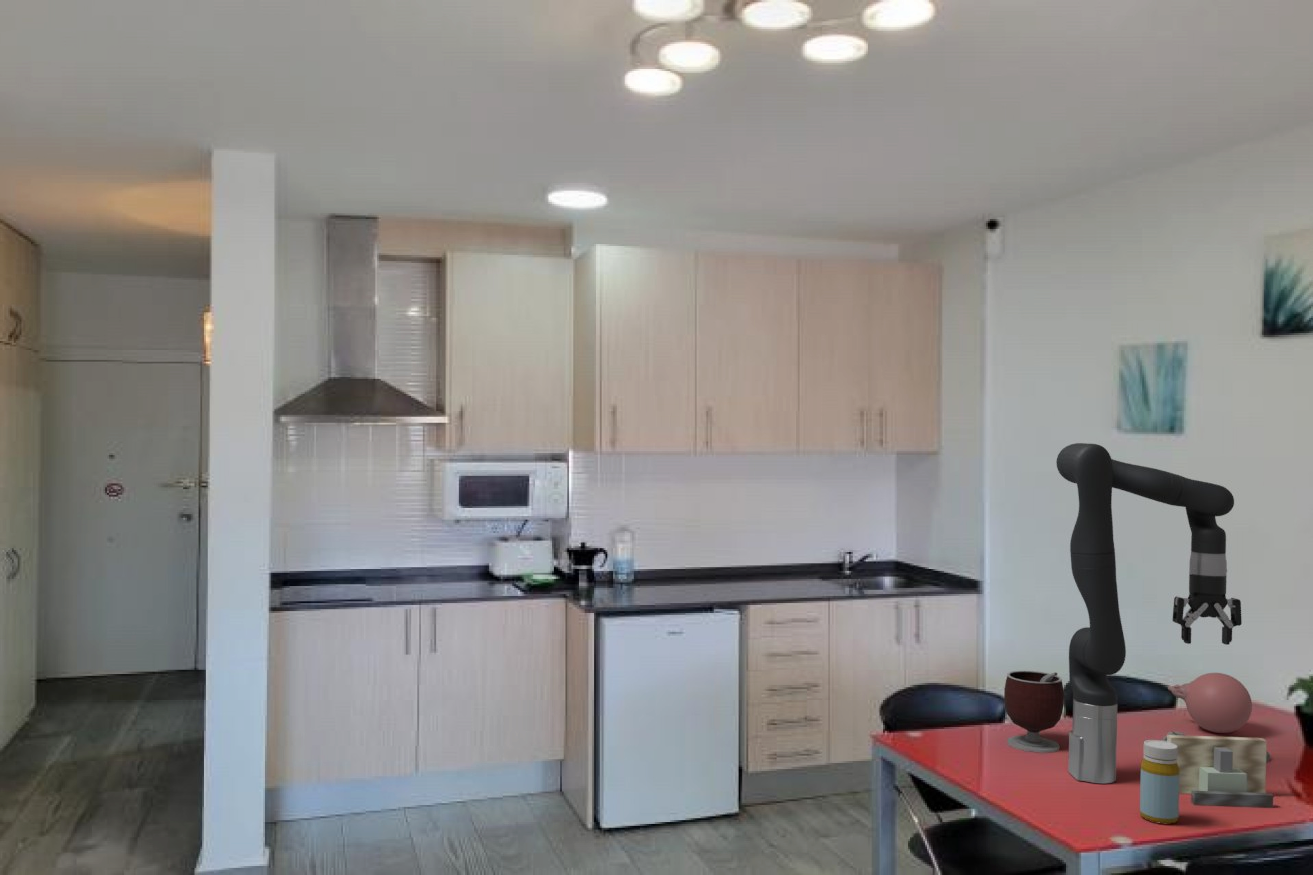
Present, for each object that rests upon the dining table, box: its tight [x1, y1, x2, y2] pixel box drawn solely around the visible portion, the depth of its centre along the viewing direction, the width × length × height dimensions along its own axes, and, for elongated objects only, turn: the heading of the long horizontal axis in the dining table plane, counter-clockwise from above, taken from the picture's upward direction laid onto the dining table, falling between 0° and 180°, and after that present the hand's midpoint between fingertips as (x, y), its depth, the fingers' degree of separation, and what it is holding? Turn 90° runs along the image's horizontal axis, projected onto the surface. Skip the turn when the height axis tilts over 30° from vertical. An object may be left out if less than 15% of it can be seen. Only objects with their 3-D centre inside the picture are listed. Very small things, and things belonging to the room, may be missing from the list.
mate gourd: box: [1003, 670, 1065, 754], centre depth 261 cm, size 16×14×20 cm
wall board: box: [1166, 734, 1274, 808], centre depth 225 cm, size 20×9×12 cm, turn 87°
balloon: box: [1167, 672, 1253, 734], centre depth 278 cm, size 15×20×15 cm
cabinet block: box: [1199, 747, 1247, 792], centre depth 226 cm, size 8×4×10 cm, turn 87°
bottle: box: [1139, 739, 1180, 825], centre depth 213 cm, size 7×7×15 cm
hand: (1206, 643), depth 240 cm, fingers open, 8 cm apart
